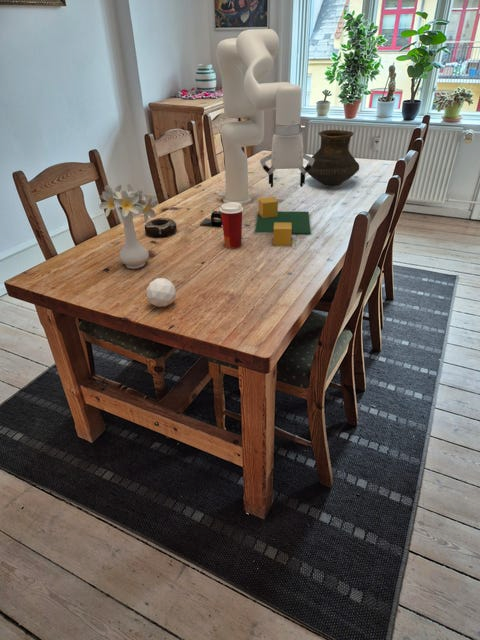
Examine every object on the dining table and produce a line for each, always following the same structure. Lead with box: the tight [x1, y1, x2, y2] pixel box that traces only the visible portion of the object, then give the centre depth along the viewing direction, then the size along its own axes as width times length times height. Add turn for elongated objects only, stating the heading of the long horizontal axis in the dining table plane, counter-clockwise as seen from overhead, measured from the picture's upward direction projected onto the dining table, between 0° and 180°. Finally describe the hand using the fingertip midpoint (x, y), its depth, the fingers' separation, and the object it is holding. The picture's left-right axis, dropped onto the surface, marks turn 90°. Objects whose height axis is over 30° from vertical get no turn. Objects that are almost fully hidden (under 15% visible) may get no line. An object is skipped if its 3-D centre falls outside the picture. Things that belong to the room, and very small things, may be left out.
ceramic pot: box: [306, 129, 360, 187], centre depth 202 cm, size 24×24×22 cm
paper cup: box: [219, 202, 244, 249], centre depth 149 cm, size 8×8×14 cm
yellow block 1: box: [257, 196, 279, 218], centre depth 173 cm, size 6×6×6 cm
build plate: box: [199, 210, 223, 229], centre depth 169 cm, size 12×7×5 cm, turn 74°
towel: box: [254, 211, 312, 235], centre depth 168 cm, size 20×22×1 cm
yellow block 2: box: [272, 222, 292, 247], centre depth 152 cm, size 6×6×6 cm
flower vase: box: [98, 183, 159, 270], centre depth 135 cm, size 13×18×25 cm
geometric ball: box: [146, 277, 177, 308], centre depth 119 cm, size 8×8×8 cm
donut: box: [144, 217, 177, 238], centre depth 163 cm, size 12×12×4 cm
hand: (286, 185), depth 145 cm, fingers open, 9 cm apart
